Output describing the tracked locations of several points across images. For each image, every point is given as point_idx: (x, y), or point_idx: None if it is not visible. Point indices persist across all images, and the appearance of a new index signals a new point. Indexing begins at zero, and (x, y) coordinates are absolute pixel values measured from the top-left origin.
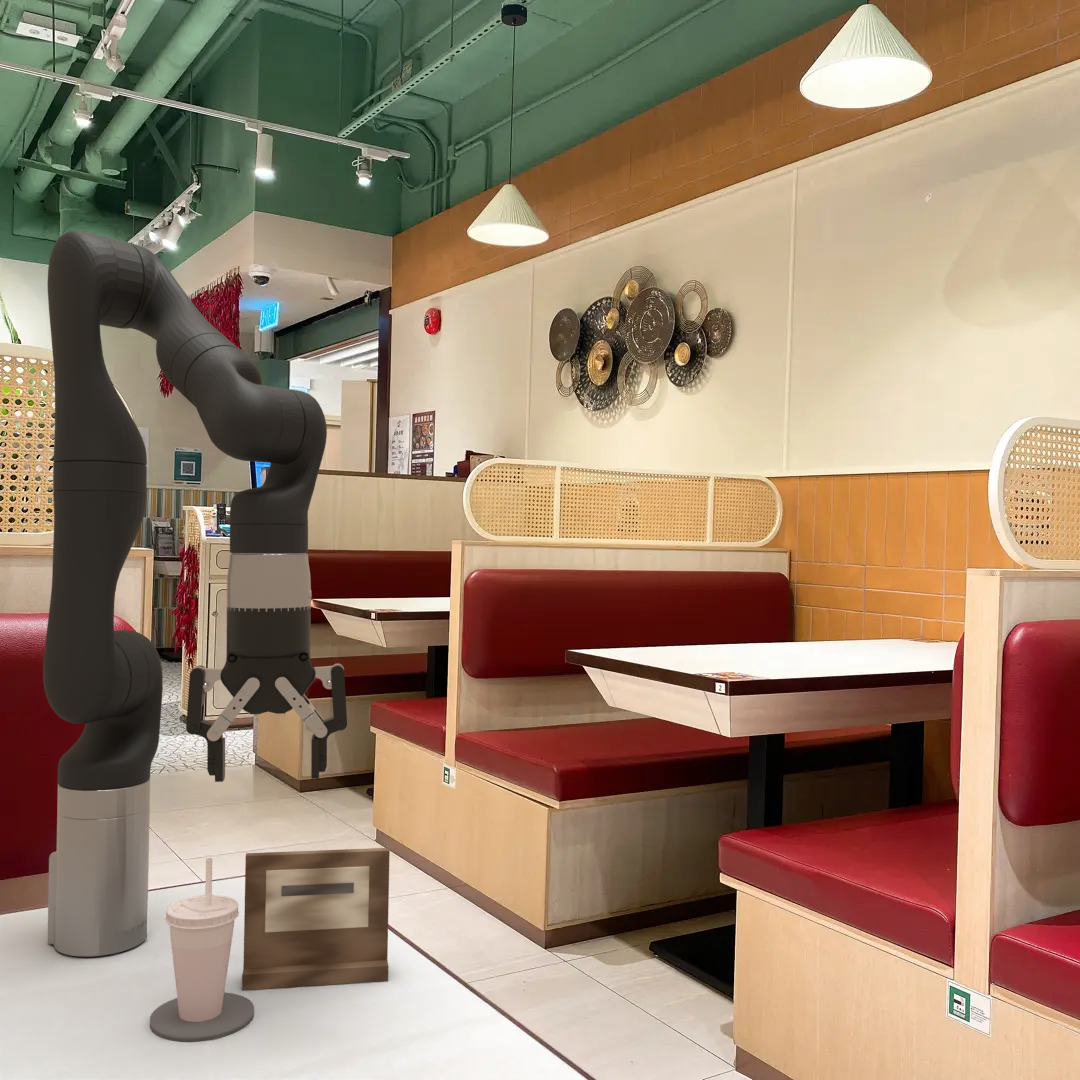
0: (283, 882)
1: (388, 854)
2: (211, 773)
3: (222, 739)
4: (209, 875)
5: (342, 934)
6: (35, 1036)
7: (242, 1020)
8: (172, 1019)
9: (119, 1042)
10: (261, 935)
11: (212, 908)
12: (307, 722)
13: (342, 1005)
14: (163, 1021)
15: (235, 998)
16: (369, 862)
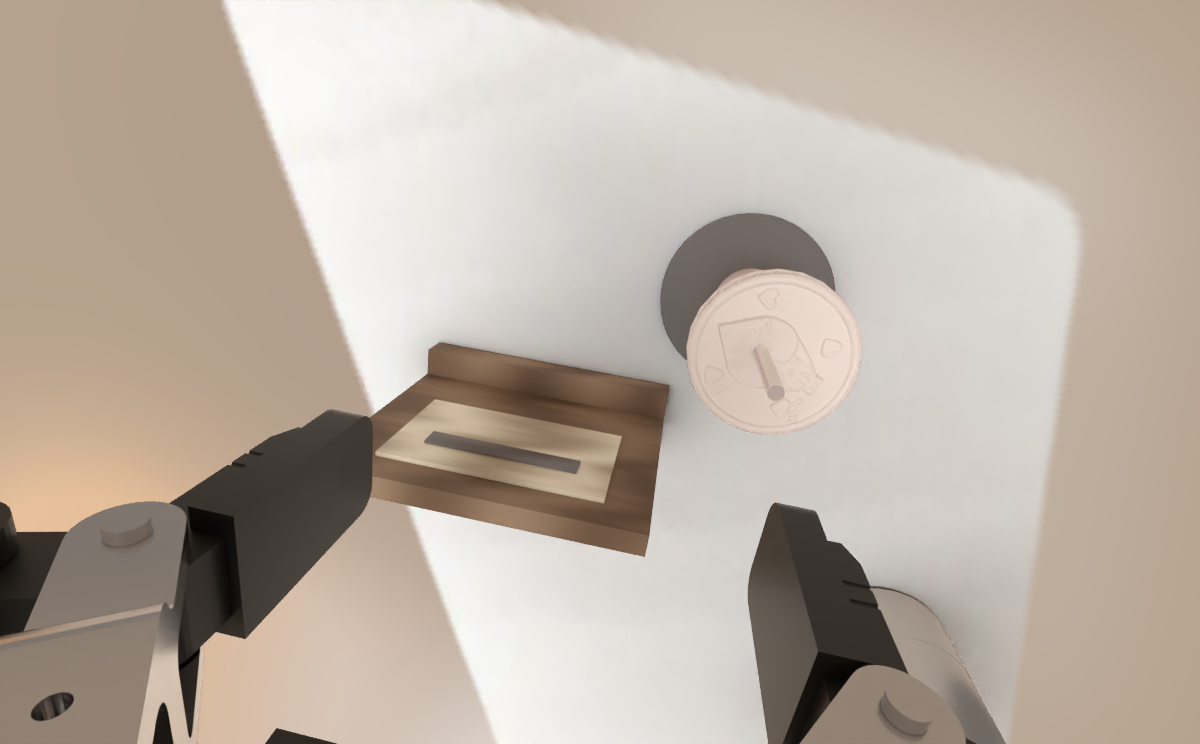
0: (570, 476)
1: None
2: (834, 546)
3: (803, 721)
4: (769, 369)
5: (484, 406)
6: (1022, 322)
7: (685, 248)
8: None
9: (889, 253)
10: (628, 437)
11: (754, 325)
12: (157, 600)
13: (519, 275)
14: None
15: (685, 340)
16: None
